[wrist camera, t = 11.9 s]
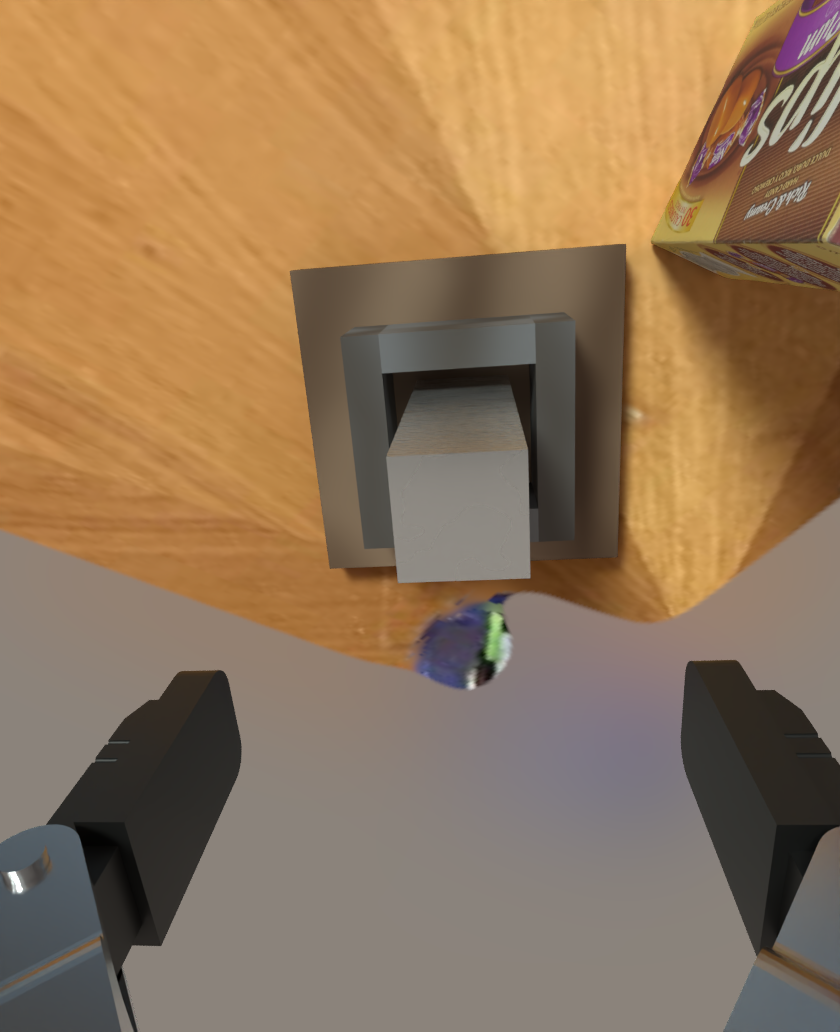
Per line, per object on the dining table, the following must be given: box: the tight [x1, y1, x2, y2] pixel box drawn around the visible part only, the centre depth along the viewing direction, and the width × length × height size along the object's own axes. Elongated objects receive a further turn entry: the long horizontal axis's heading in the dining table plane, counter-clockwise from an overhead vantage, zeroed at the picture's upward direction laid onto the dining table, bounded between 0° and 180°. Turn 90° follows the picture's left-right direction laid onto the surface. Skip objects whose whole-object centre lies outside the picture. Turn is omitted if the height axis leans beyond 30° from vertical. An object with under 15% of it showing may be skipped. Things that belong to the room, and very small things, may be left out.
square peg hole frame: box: [290, 244, 626, 569], centre depth 31 cm, size 14×14×5 cm
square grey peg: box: [386, 375, 530, 583], centre depth 26 cm, size 4×4×12 cm
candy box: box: [651, 0, 840, 291], centre depth 21 cm, size 9×4×15 cm, turn 159°
